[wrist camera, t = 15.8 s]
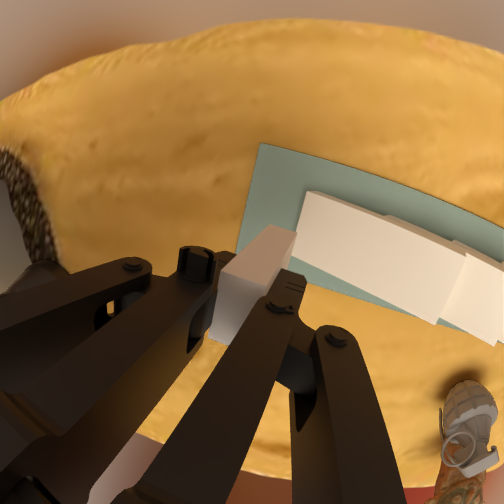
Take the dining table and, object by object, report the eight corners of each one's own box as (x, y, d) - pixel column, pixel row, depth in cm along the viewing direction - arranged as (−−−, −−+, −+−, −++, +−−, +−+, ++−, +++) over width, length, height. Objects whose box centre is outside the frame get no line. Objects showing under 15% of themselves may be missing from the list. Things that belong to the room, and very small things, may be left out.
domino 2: (362, 277, 22) (493, 346, 15) (384, 215, 20) (526, 284, 14) (369, 272, 23) (492, 336, 17) (390, 214, 21) (522, 278, 15)
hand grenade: (477, 358, 23) (509, 435, 13) (488, 388, 23) (513, 460, 13) (425, 388, 25) (439, 472, 15) (440, 415, 26) (452, 491, 16)
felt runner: (236, 256, 27) (234, 258, 26) (262, 143, 23) (260, 142, 23) (521, 346, 21) (523, 349, 20) (562, 261, 17) (565, 264, 17)
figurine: (488, 413, 24) (513, 508, 10) (466, 450, 26) (478, 536, 13) (430, 421, 26) (441, 529, 13) (413, 457, 29) (414, 551, 15)
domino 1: (289, 254, 23) (434, 325, 17) (306, 190, 21) (466, 257, 15) (300, 250, 24) (436, 315, 18) (317, 190, 23) (465, 252, 17)
